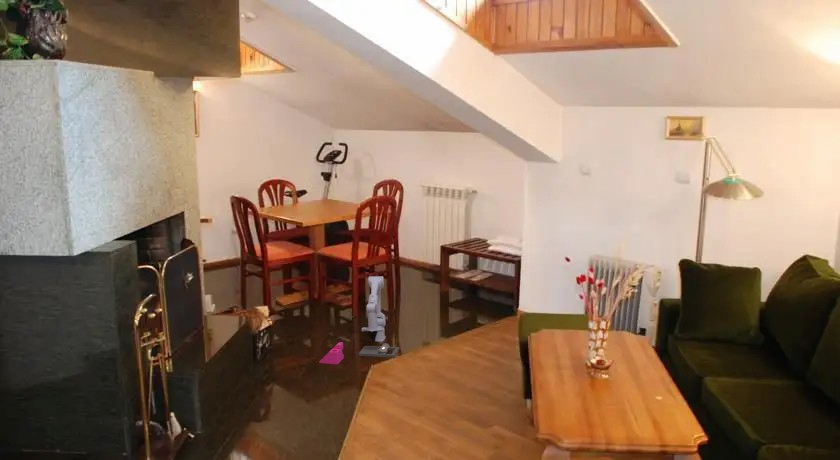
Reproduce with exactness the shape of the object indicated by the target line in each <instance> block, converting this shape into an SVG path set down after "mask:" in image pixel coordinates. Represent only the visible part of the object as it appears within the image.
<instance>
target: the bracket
mask: <svg viewBox="0 0 840 460" xmlns="http://www.w3.org/2000/svg"><path fill="white" fill-rule="evenodd" d="M343 349H344V342H343V341H342V342H338V343H337V344H336V345H335V346H334V347H333V348H331V349H330V350H329V351H328V352H327V353H326V354H325V355H324V357H322V358H321V359H320V361H319V362H318V363H320V364H330V365H339V364H340V363H341V362H342V360H344V359H345V356H344V353H343Z"/></svg>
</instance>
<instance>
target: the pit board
mask: <svg viewBox="0 0 840 460" xmlns="http://www.w3.org/2000/svg"><path fill="white" fill-rule="evenodd" d="M381 346H382V345H381ZM381 346H379V345H364V346H363V347H362V349H361V350H360V352H359V353H358V356H359V357H376V358H394V359H395V358H396V355H397V354H398V353H399V351H400V347H399V346H389V350H388V351H392V353H386V354H379V353H378V351H379V349H380V347H381Z"/></svg>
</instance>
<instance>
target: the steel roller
mask: <svg viewBox="0 0 840 460" xmlns="http://www.w3.org/2000/svg"><path fill="white" fill-rule="evenodd" d="M389 347H390V345H389V343H386V342H383V343H382V345H381V347H380V349H379V351H378V353H379V354H388V351H390V350H389Z"/></svg>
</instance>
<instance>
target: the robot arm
mask: <svg viewBox="0 0 840 460" xmlns="http://www.w3.org/2000/svg"><path fill="white" fill-rule="evenodd" d="M367 283H368V287H370V290H371V291H370V292H371V293H370V294H369V295H368V300H367V301H368V302H367V304H366V313H367V322H368V323H367V325H368V326H367V327H362V328H361V332H368V335H369V337H370V340H371V342H372V344H373V343H376V342H379V343H381V342H383V343H384V340H385V339H386V338H387V336H386V335H385V334H386V333H385V330H386V329H385V326H386V314H385V313H383V312H382V305H381V304H382V303H381V300H382V299H381V297H382V296H381V295H382V294H381V293H382V292H381V290H382V289H383V288H384V286H385V284H384V283H385V279H384V276H383V275H382V276H368V279H367Z"/></svg>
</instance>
